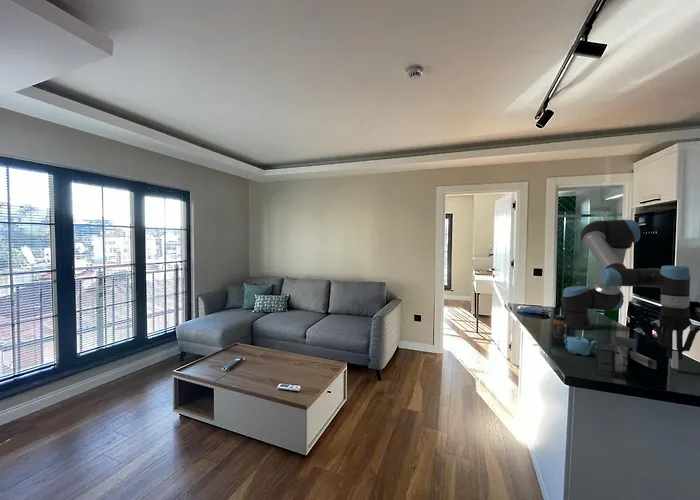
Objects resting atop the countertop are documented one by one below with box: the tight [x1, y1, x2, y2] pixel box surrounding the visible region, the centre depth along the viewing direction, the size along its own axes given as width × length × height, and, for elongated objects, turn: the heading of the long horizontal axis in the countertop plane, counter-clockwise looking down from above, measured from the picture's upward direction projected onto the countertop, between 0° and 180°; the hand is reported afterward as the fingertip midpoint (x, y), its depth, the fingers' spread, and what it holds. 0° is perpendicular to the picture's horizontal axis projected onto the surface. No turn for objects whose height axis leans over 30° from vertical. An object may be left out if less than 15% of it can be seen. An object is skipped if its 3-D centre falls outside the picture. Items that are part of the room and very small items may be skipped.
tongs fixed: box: [618, 346, 629, 367], centre depth 125 cm, size 15×3×3 cm, turn 142°
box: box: [595, 341, 616, 379], centre depth 113 cm, size 8×6×11 cm
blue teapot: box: [563, 335, 599, 357], centre depth 133 cm, size 12×6×8 cm, turn 60°
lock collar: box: [613, 335, 638, 354], centre depth 131 cm, size 3×7×7 cm, turn 52°
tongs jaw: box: [629, 350, 658, 370], centre depth 121 cm, size 11×2×3 cm, turn 172°
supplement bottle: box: [552, 314, 568, 340], centre depth 155 cm, size 6×6×11 cm
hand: (674, 367), depth 114 cm, fingers closed
